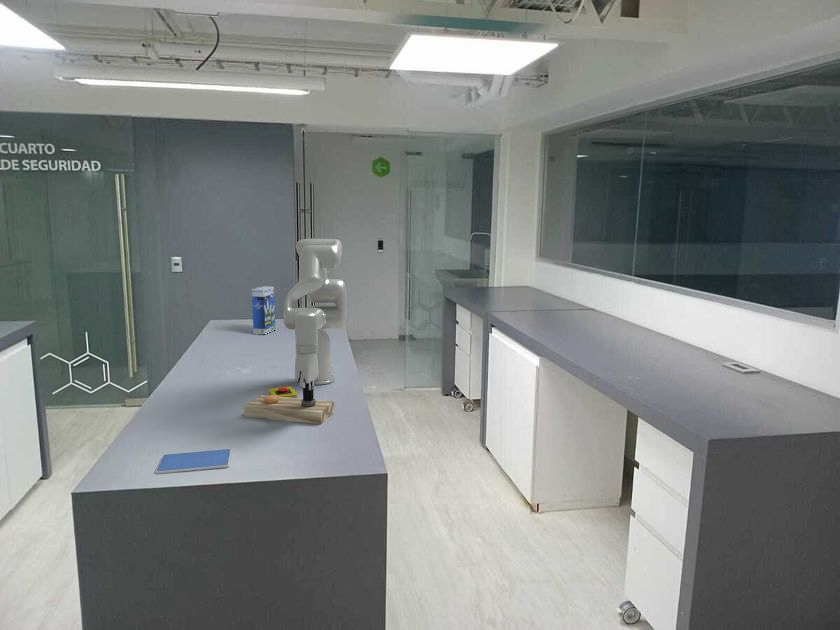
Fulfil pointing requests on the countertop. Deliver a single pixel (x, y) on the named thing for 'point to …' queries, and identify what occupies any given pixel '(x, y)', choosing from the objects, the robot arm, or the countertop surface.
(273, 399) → the orange knob
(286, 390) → the emergency button
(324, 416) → the control block
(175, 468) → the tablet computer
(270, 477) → the countertop surface
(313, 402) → the gray knob
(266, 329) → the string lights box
